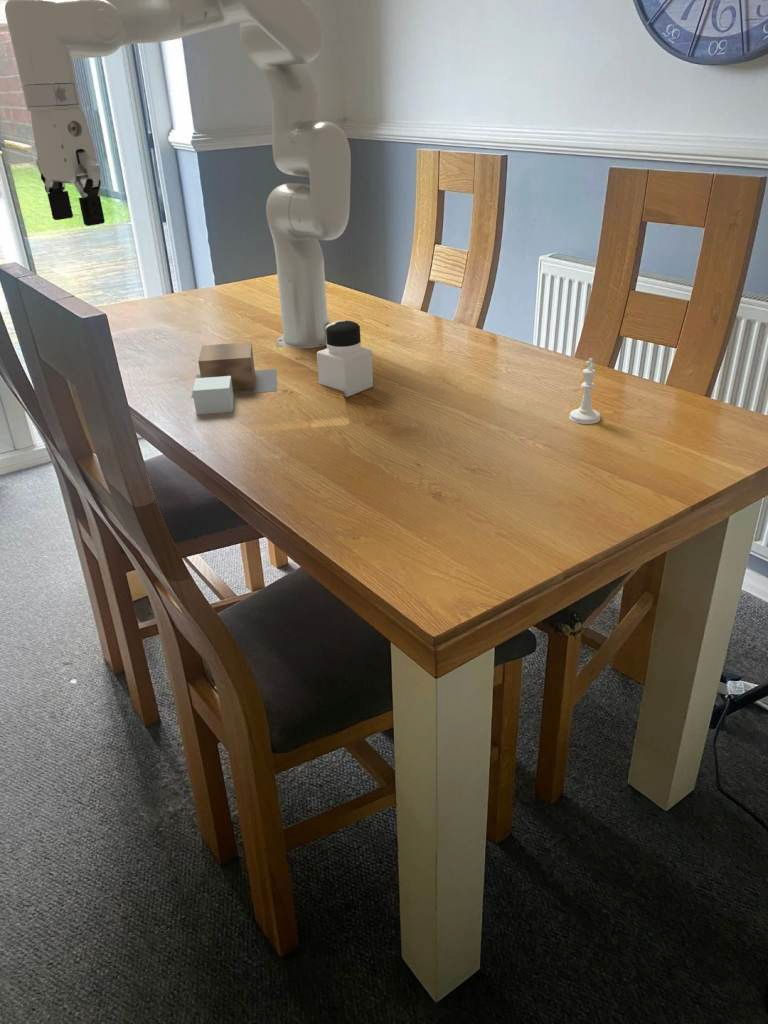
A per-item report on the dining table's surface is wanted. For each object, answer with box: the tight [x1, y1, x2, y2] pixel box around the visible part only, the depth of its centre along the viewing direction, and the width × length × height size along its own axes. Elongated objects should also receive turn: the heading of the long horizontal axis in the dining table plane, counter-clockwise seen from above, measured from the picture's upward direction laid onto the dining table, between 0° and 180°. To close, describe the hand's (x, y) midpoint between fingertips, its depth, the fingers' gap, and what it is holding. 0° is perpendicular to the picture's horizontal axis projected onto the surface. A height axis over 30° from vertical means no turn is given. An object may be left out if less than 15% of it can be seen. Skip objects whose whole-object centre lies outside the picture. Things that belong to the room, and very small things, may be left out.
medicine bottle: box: [316, 320, 374, 398], centre depth 140 cm, size 7×7×12 cm
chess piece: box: [568, 357, 601, 425], centre depth 125 cm, size 5×5×10 cm
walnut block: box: [198, 341, 255, 391], centre depth 143 cm, size 9×9×6 cm
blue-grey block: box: [192, 376, 235, 415], centre depth 134 cm, size 6×6×6 cm
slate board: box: [190, 368, 278, 399], centre depth 145 cm, size 15×12×1 cm
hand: (78, 221), depth 123 cm, fingers open, 9 cm apart
